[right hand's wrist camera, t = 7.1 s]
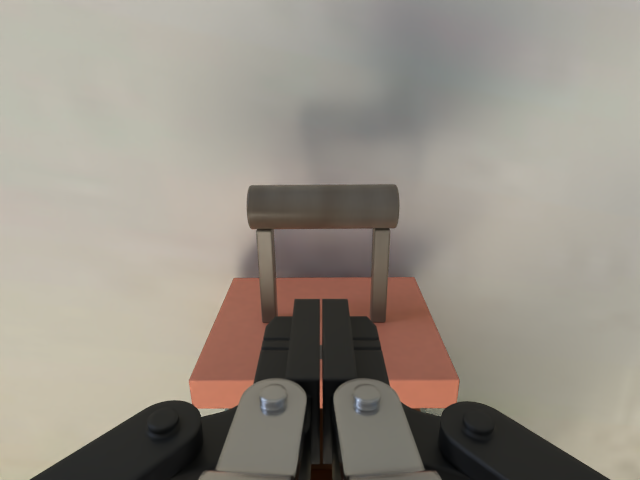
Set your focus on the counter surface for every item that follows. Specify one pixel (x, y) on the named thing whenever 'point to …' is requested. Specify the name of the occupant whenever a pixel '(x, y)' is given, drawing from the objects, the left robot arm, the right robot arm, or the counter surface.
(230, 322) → the drawer
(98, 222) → the counter surface
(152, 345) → the counter surface
